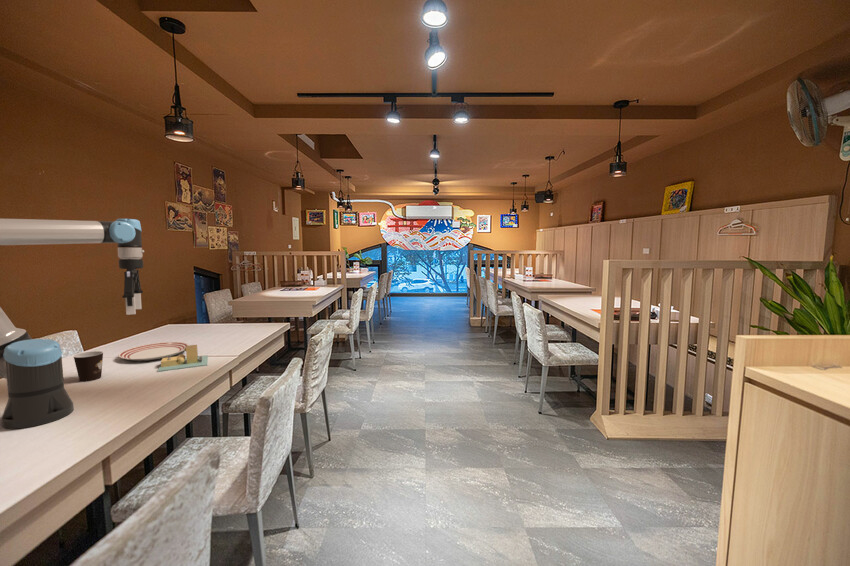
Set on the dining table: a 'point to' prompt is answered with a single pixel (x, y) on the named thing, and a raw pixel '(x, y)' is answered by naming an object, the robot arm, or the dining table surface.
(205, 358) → the hinge base
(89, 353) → the coffee mug
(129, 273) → the robot arm
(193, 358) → the yellow tan block
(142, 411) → the dining table surface
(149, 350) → the dinner plate
